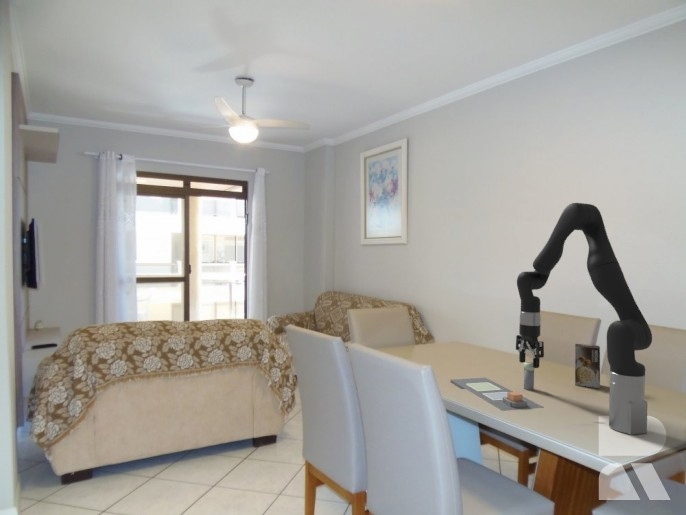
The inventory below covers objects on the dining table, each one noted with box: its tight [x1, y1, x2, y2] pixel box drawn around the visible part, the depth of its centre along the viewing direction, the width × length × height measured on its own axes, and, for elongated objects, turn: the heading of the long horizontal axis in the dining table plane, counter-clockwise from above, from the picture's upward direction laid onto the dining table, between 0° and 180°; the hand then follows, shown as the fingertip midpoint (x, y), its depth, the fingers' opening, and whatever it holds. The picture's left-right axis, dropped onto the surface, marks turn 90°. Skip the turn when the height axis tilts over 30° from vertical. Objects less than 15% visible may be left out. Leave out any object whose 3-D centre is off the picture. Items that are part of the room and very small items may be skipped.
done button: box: [507, 391, 524, 402], centre depth 164 cm, size 4×4×2 cm
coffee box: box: [574, 343, 601, 389], centre depth 192 cm, size 9×6×16 cm
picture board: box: [450, 377, 545, 412], centre depth 177 cm, size 38×16×3 cm, turn 13°
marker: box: [523, 361, 535, 391], centre depth 182 cm, size 4×4×11 cm
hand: (528, 364), depth 182 cm, fingers open, 8 cm apart
